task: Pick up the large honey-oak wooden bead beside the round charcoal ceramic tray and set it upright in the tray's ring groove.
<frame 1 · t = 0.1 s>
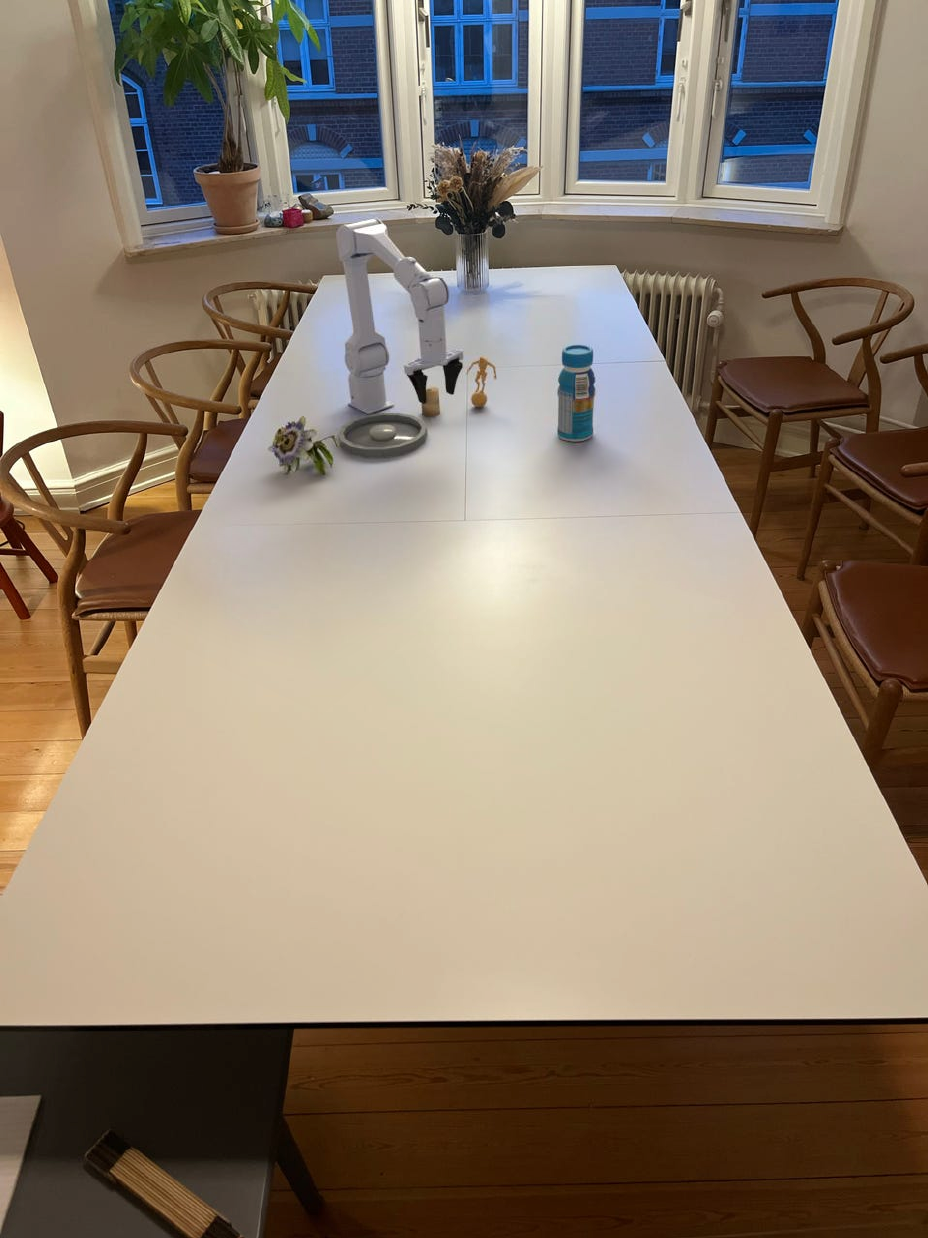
hand: (436, 397, 197), 10 cm above the table, fingers open, 7 cm apart
figurine: (481, 405, 218), on the table
oak bead: (431, 413, 216), on the table
round tray: (383, 438, 205), on the table
beverage bottle: (575, 435, 201), on the table
passion flower: (305, 467, 195), on the table
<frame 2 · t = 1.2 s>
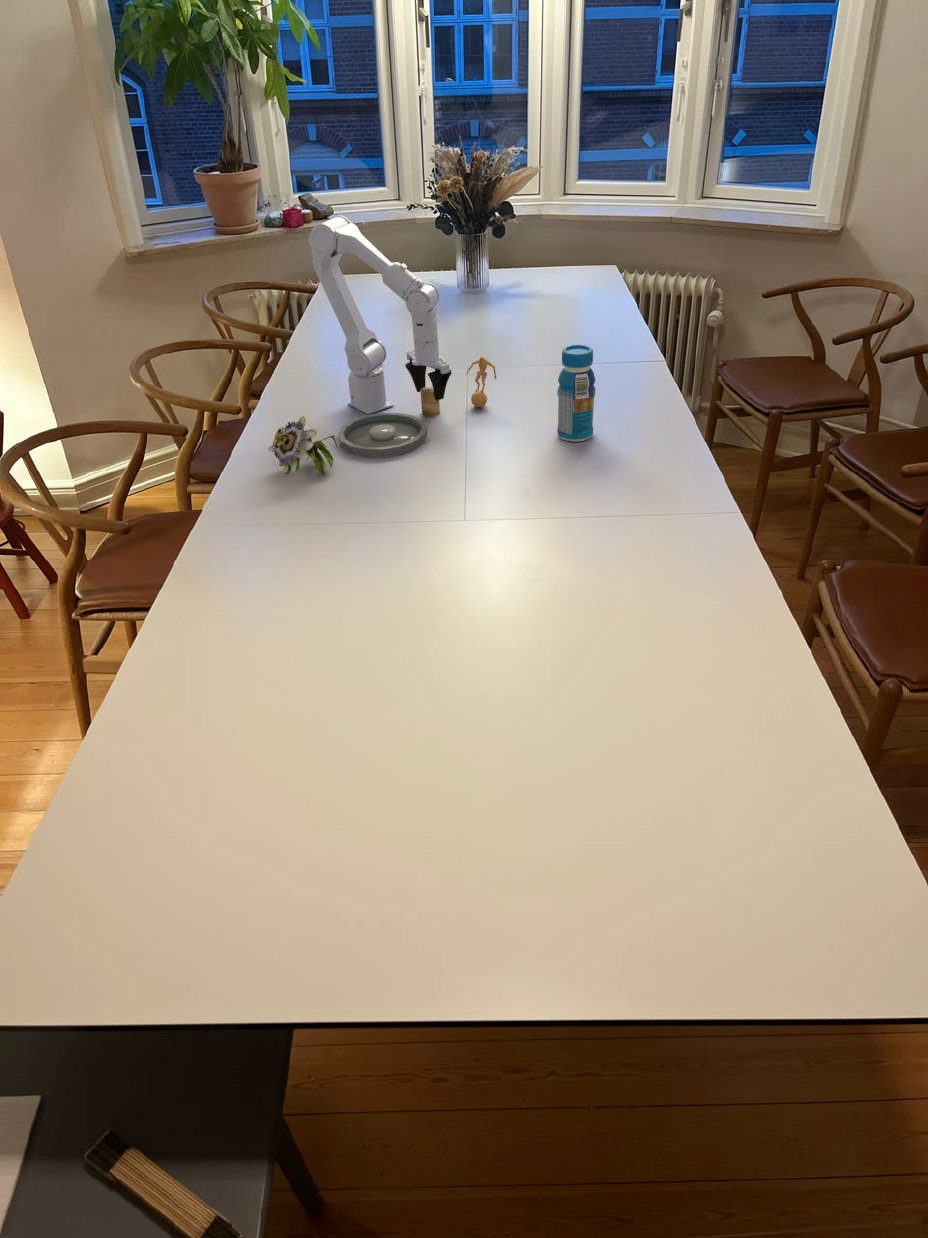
hand: (430, 394, 213), 5 cm above the table, fingers open, 7 cm apart
nothing on the table moved.
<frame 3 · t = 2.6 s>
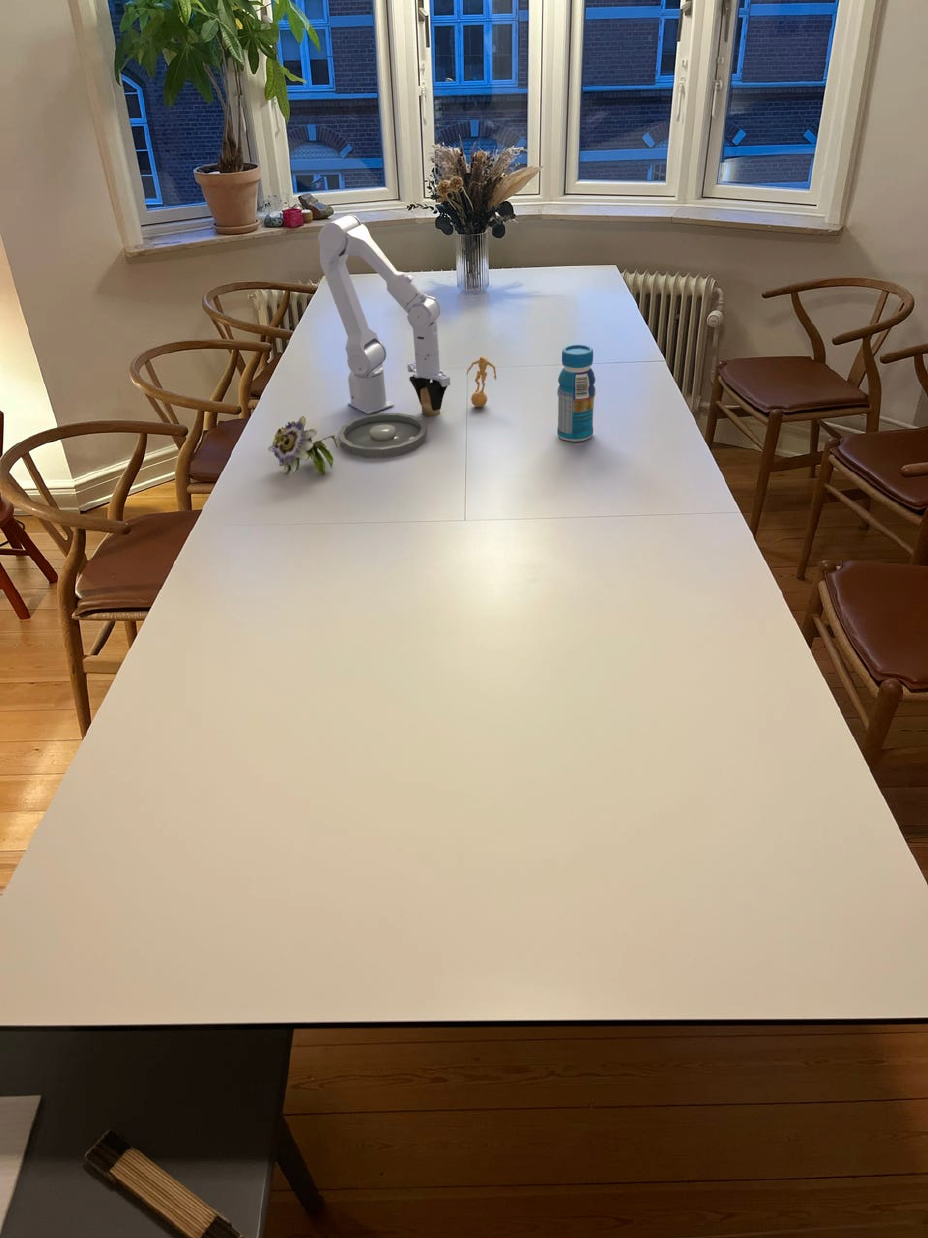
hand: (430, 406, 215), 2 cm above the table, fingers closed on oak bead, 4 cm apart
oak bead: (431, 413, 216), on the table, touching gripper
everything else where it was.
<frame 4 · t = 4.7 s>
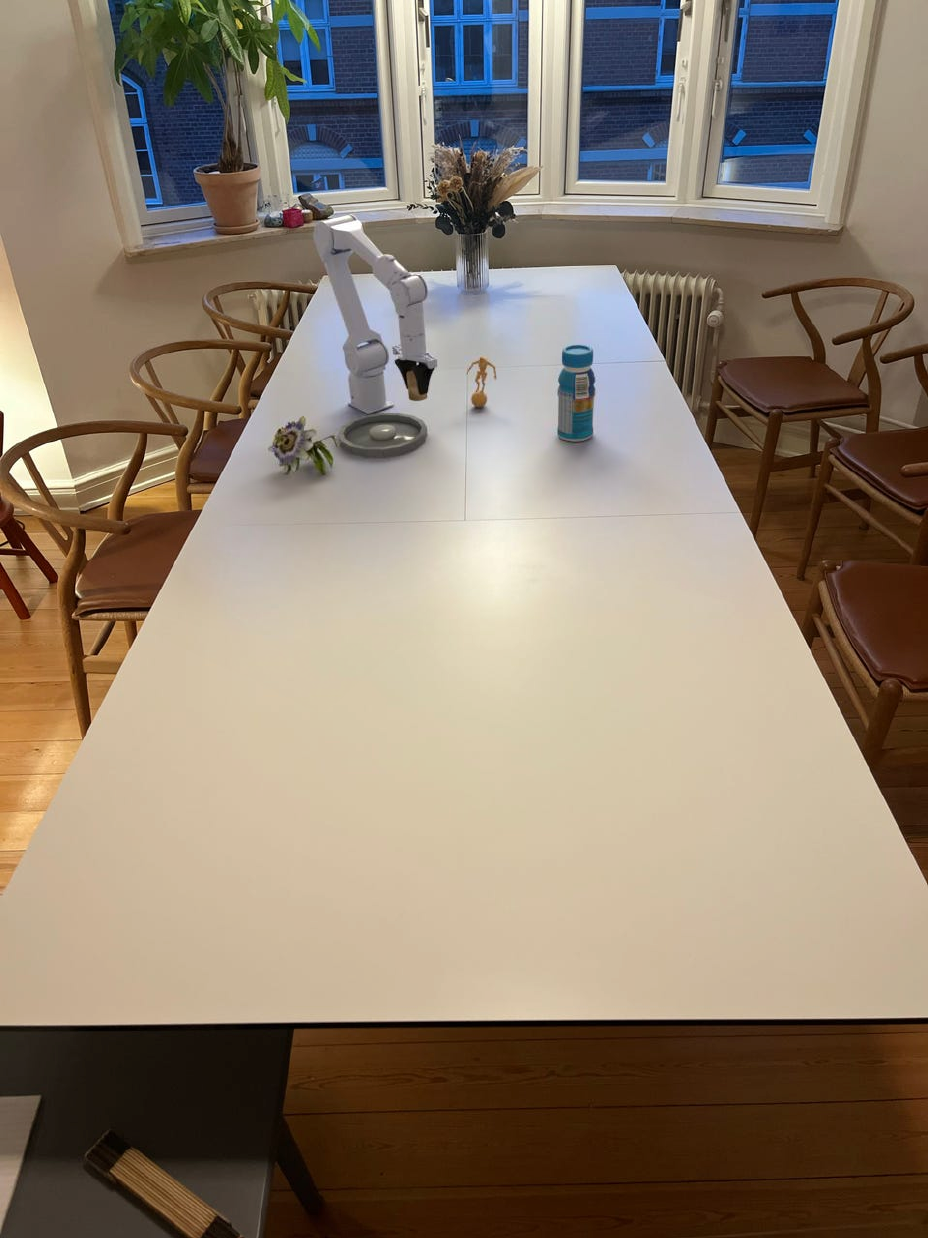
hand: (417, 390, 205), 8 cm above the table, fingers closed on oak bead, 4 cm apart
oak bead: (418, 397, 206), point 7 cm above the table, touching gripper
everything else where it was.
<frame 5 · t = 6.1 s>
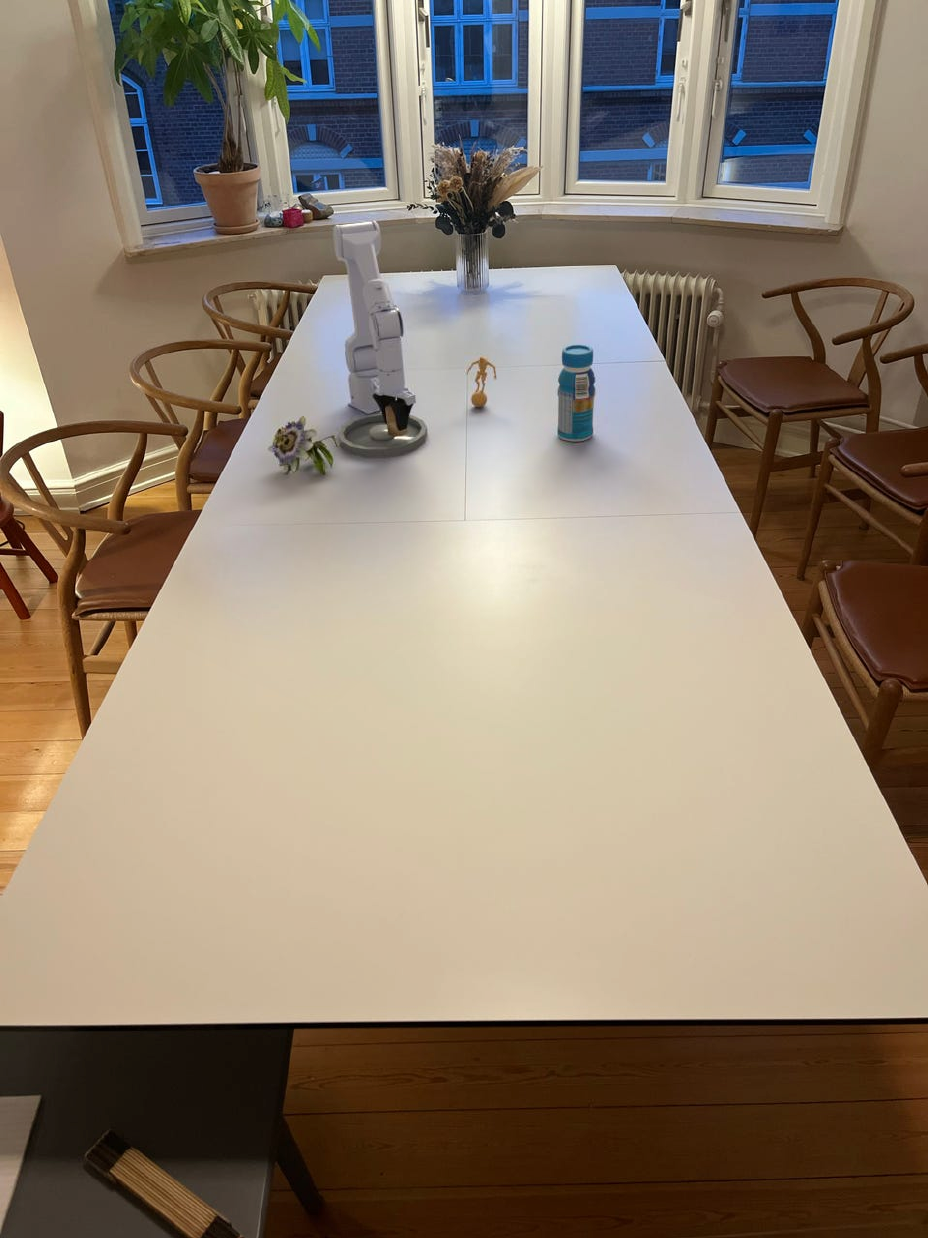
hand: (396, 426, 198), 5 cm above the table, fingers closed on oak bead, 4 cm apart
oak bead: (397, 432, 199), point 3 cm above the table, touching gripper
everything else where it was.
when the fingers open (4 cm above the table, at t = 7.1 s): oak bead drops 2 cm, resting on round tray.
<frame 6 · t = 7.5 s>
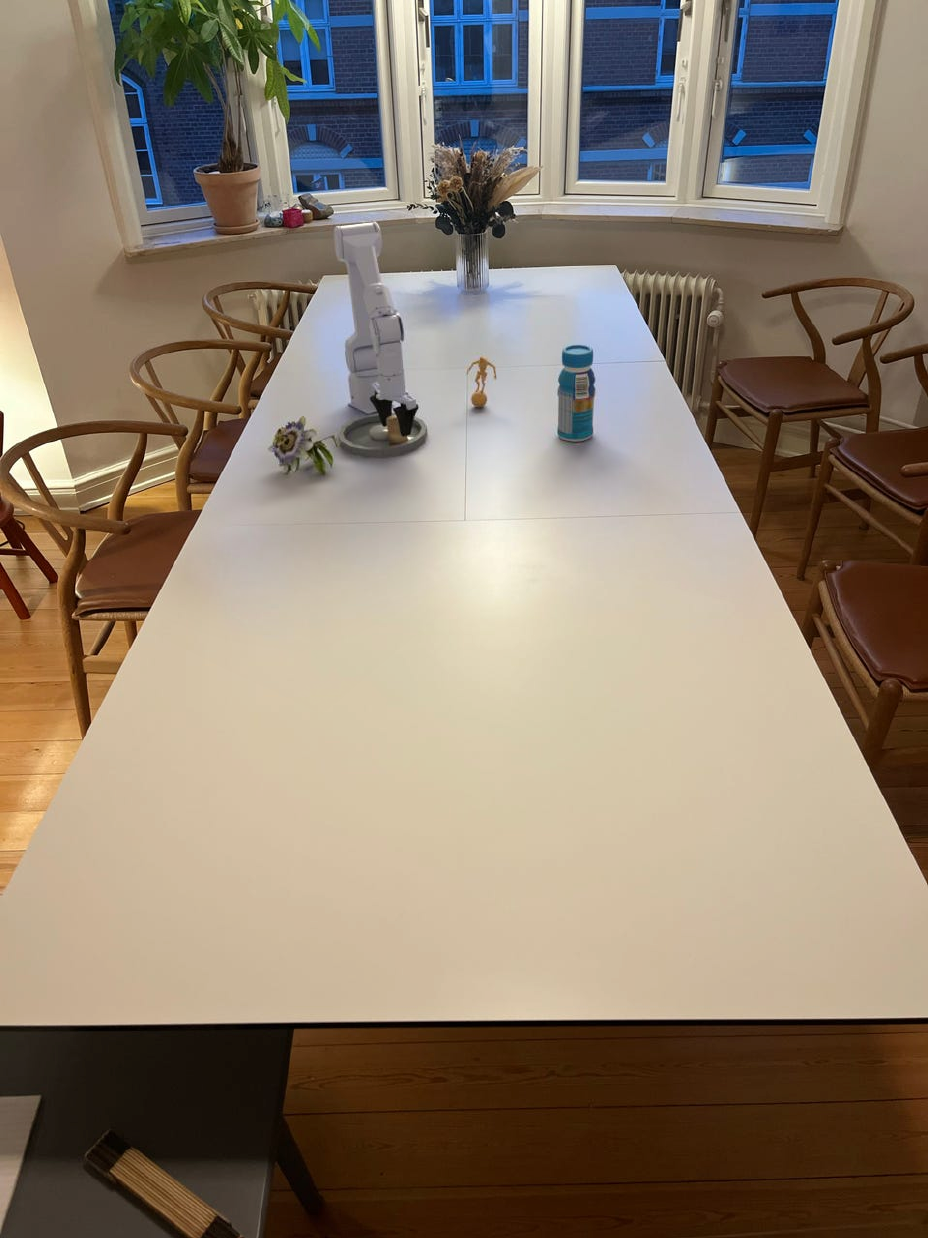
hand: (396, 430, 198), 4 cm above the table, fingers open, 7 cm apart
oak bead: (398, 443, 201), point 1 cm above the table, touching round tray
everything else where it was.
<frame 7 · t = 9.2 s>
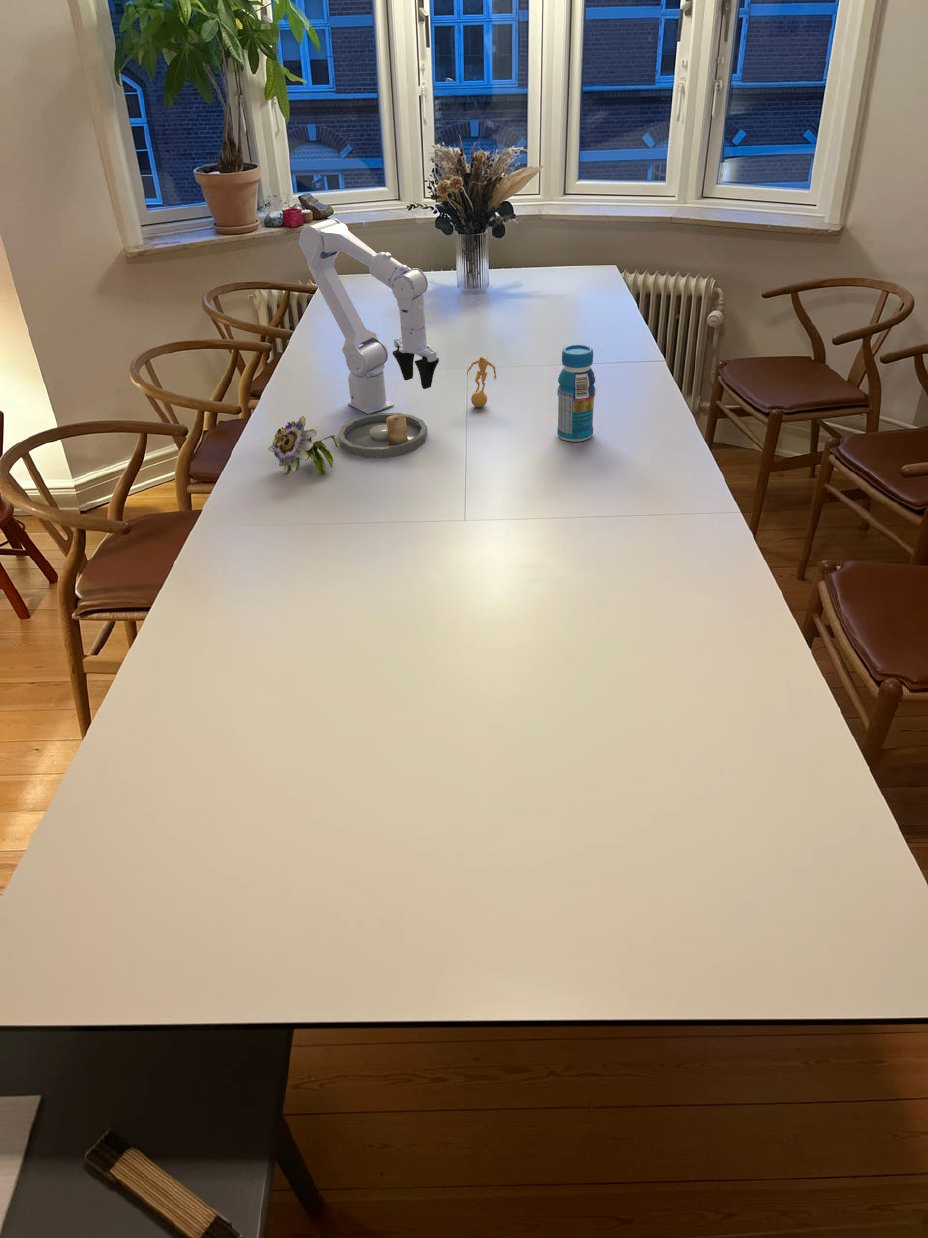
hand: (417, 383, 209), 8 cm above the table, fingers open, 7 cm apart
nothing on the table moved.
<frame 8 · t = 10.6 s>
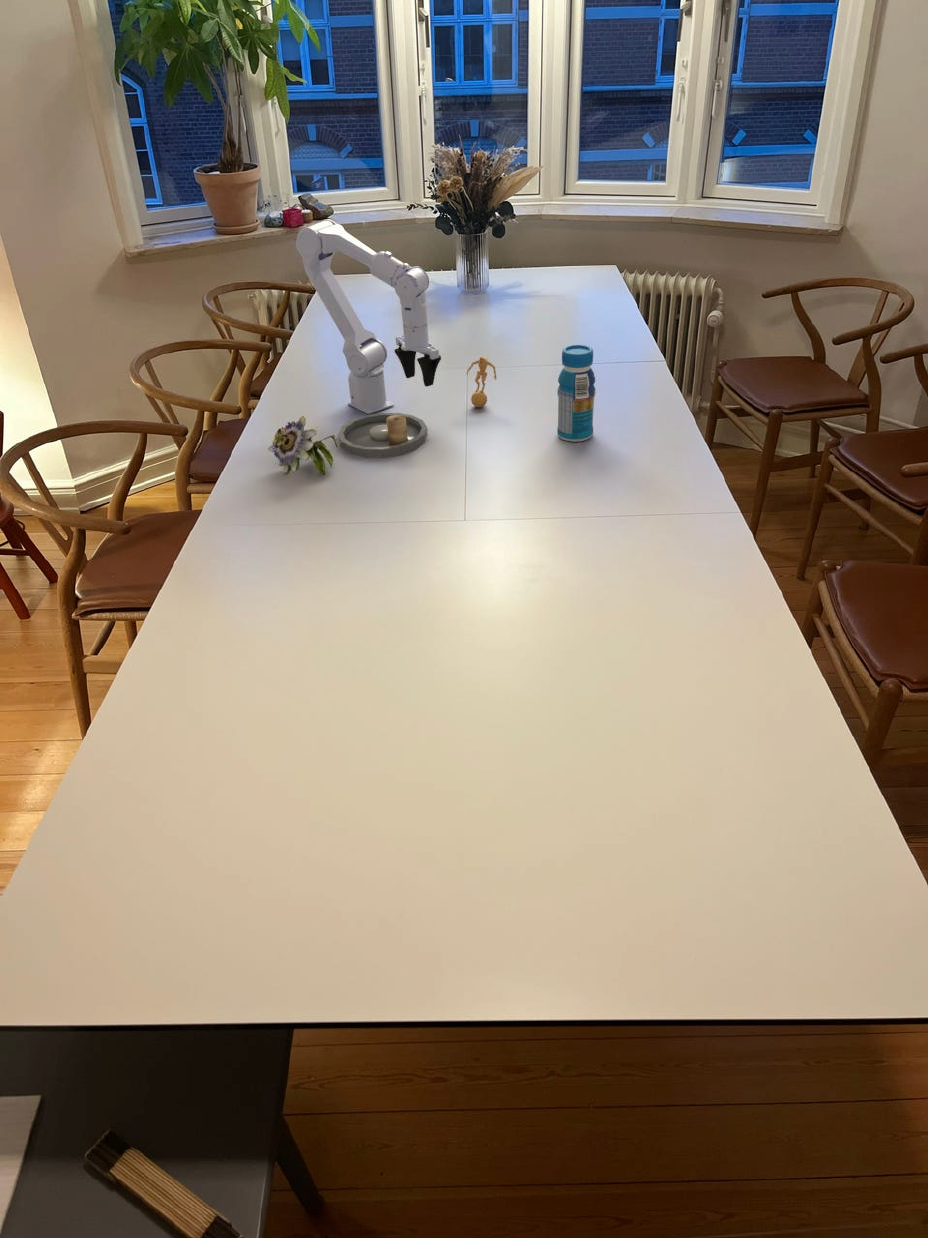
hand: (419, 381, 210), 8 cm above the table, fingers open, 7 cm apart
nothing on the table moved.
at the end: oak bead 0.2 cm from the target spot on the round tray, point 0.6 cm above the round tray's base; oak bead tilted 0°; the gripper is holding nothing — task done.
